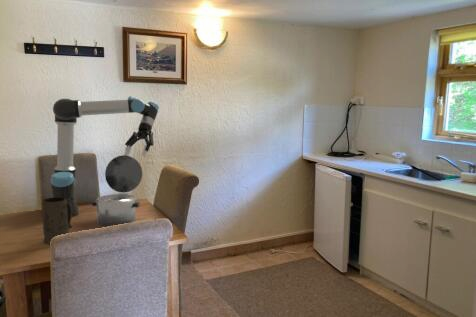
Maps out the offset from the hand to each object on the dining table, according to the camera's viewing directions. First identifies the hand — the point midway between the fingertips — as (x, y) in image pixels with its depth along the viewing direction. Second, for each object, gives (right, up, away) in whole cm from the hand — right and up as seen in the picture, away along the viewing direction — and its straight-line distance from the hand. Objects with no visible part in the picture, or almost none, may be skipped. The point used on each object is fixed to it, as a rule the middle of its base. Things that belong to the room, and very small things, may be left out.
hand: (134, 156), depth 225 cm
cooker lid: (-5, -10, -7) cm, 13 cm away
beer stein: (-24, -39, -43) cm, 63 cm away
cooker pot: (-6, -35, -15) cm, 39 cm away
